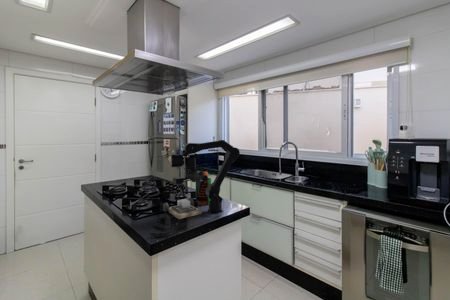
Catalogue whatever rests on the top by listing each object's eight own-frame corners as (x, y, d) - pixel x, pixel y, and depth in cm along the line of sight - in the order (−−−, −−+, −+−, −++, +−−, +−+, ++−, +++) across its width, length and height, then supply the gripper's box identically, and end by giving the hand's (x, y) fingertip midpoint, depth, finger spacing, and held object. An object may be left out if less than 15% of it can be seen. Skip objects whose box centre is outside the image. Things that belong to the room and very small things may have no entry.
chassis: (190, 205, 141) (190, 197, 141) (204, 212, 127) (204, 204, 127) (163, 210, 131) (162, 202, 131) (175, 219, 117) (175, 210, 117)
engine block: (185, 207, 133) (185, 198, 132) (190, 209, 128) (190, 201, 128) (177, 208, 130) (177, 200, 130) (182, 211, 125) (181, 202, 125)
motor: (194, 204, 143) (193, 173, 141) (198, 200, 151) (198, 170, 150) (209, 205, 140) (209, 173, 139) (213, 201, 149) (213, 171, 148)
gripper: (179, 169, 111) (180, 201, 112) (212, 166, 121) (213, 194, 123) (171, 167, 121) (172, 196, 122) (203, 164, 131) (203, 190, 132)
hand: (191, 194), depth 124 cm, fingers open, 9 cm apart
